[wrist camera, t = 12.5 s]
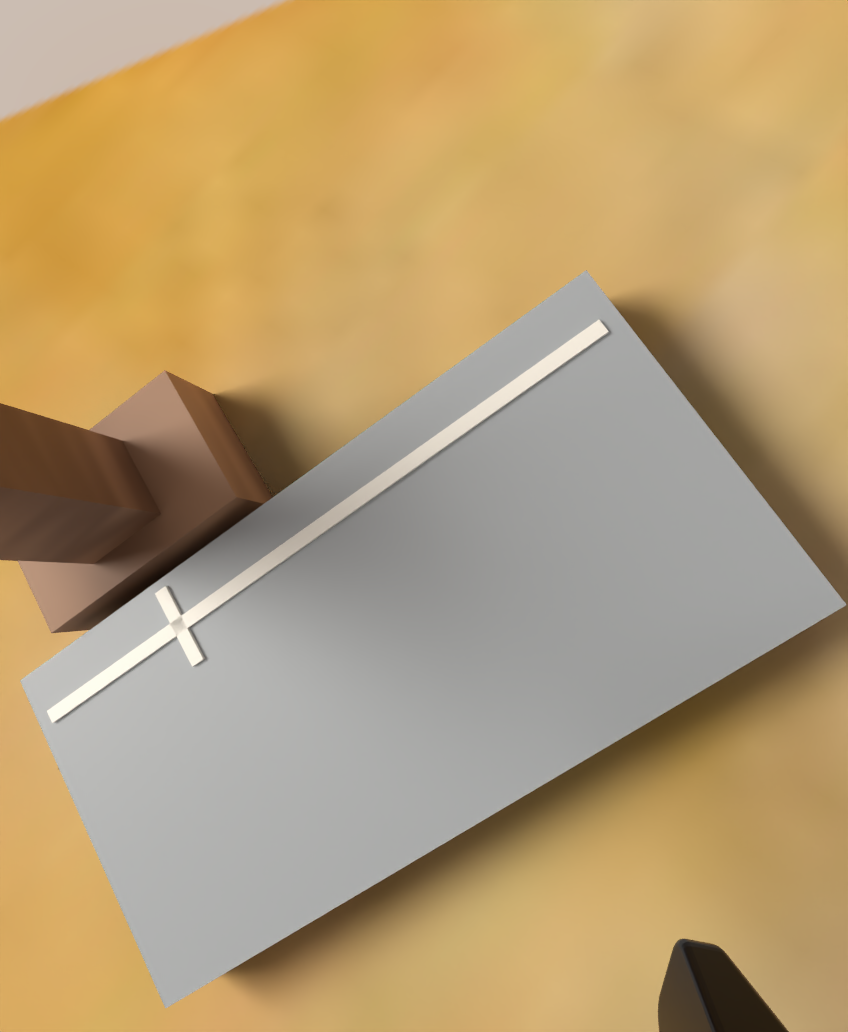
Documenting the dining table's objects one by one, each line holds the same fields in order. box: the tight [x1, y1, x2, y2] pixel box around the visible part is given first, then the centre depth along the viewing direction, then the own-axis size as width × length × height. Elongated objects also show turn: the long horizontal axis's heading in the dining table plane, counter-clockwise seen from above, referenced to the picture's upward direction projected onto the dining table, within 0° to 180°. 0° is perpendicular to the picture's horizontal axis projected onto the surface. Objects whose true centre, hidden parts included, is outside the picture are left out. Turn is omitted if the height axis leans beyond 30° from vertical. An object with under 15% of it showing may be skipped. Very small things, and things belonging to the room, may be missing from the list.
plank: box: [20, 270, 846, 1008], centre depth 19 cm, size 20×10×2 cm, turn 123°
